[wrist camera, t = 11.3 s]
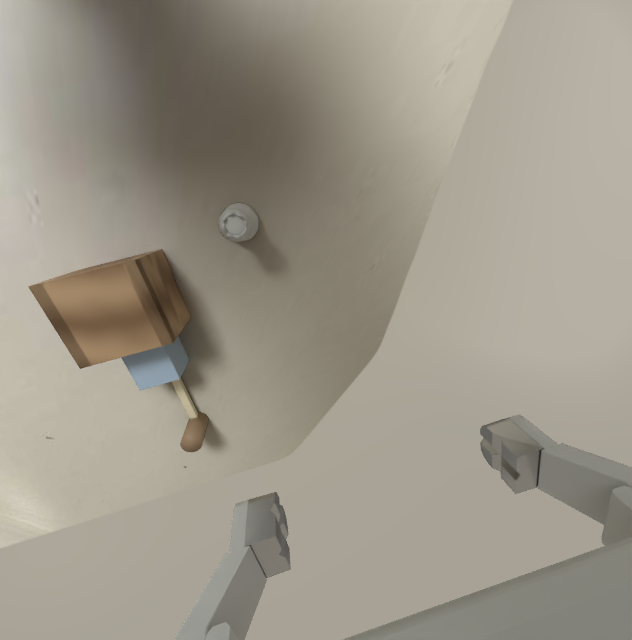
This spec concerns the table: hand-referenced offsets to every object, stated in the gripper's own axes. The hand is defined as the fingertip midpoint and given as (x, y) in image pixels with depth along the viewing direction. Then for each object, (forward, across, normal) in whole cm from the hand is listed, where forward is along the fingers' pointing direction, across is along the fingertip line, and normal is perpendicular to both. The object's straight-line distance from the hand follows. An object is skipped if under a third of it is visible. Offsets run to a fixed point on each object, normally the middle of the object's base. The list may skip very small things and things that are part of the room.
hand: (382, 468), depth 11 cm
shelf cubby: (+31, +20, -3) cm, 37 cm away
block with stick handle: (+31, +20, +10) cm, 38 cm away
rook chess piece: (+31, +5, -9) cm, 33 cm away
